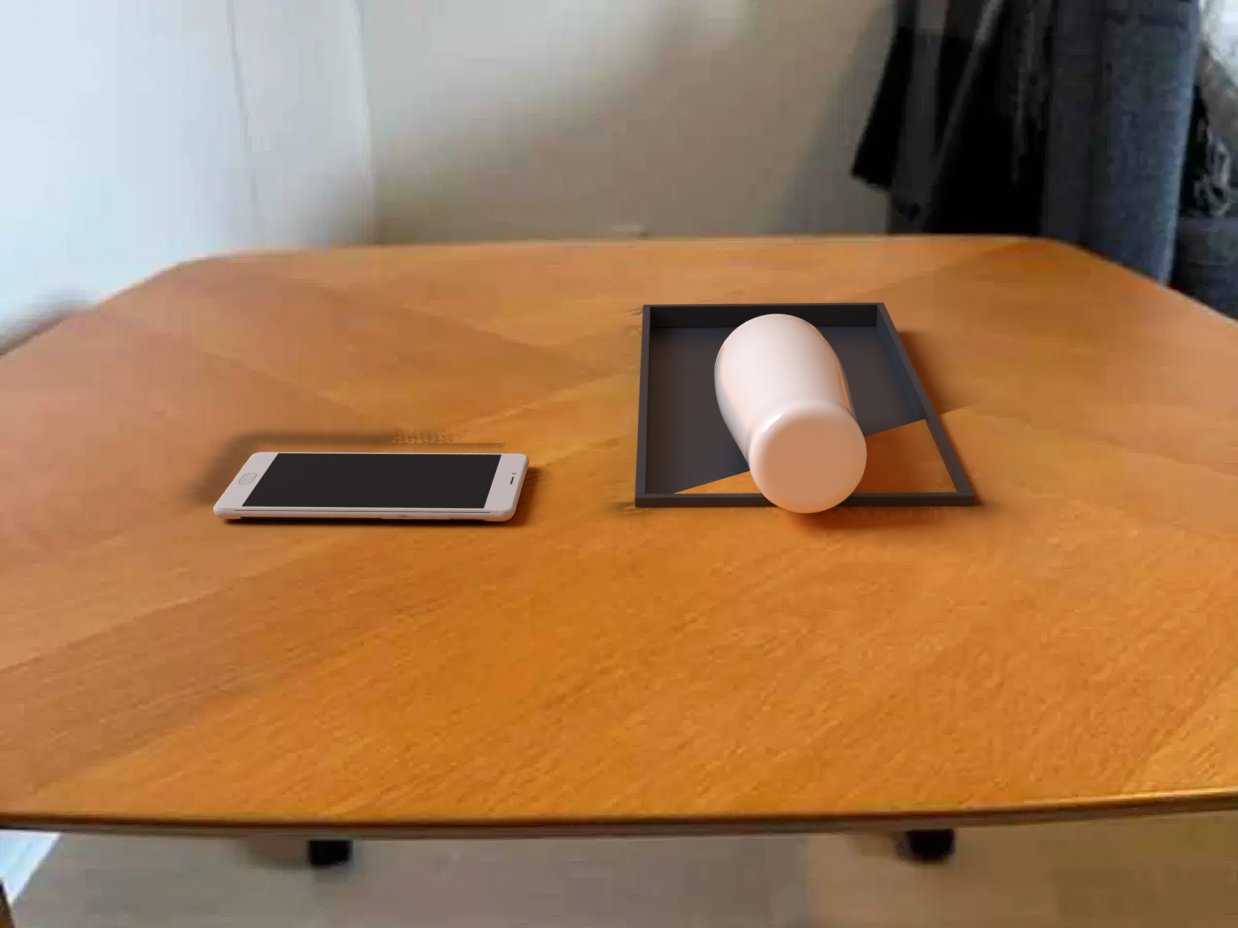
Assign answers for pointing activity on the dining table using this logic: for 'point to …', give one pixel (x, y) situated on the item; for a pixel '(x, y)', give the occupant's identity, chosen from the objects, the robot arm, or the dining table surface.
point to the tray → (694, 428)
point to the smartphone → (375, 486)
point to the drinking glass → (790, 412)
